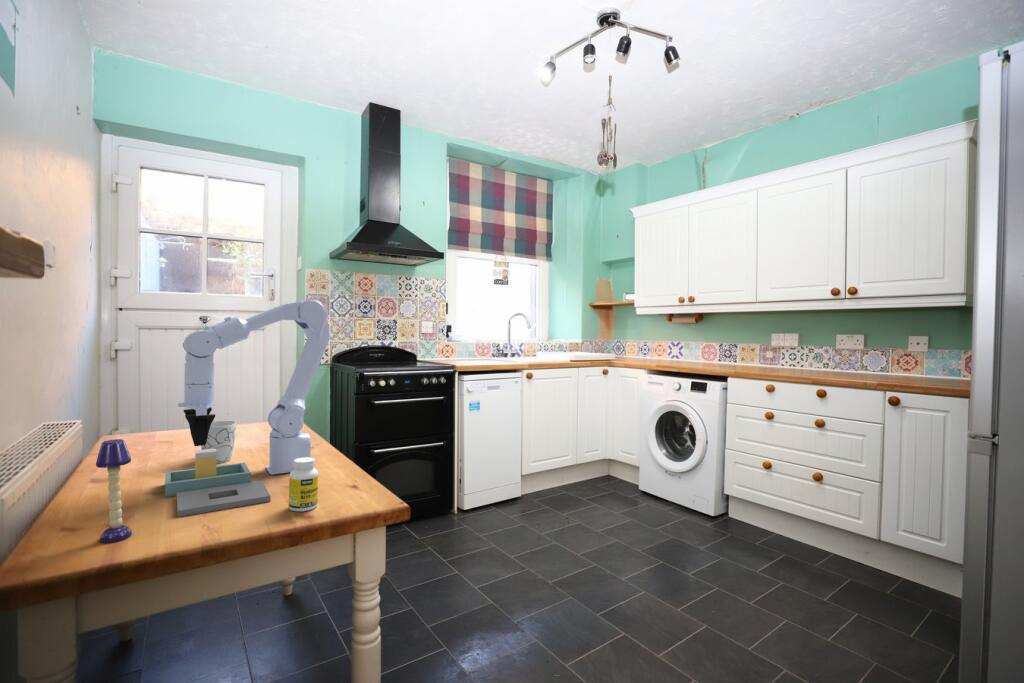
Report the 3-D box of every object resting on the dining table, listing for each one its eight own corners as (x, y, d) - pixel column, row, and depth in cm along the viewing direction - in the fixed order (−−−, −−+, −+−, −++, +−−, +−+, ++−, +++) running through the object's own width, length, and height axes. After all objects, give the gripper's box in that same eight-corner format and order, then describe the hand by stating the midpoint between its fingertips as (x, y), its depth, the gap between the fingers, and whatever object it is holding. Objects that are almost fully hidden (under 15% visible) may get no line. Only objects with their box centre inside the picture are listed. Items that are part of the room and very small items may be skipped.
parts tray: (244, 473, 120) (244, 462, 120) (250, 484, 112) (250, 472, 112) (165, 484, 111) (165, 472, 111) (164, 497, 103) (165, 484, 103)
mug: (188, 459, 132) (188, 422, 131) (221, 453, 139) (221, 418, 138) (208, 466, 125) (208, 428, 125) (241, 460, 132) (242, 423, 132)
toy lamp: (92, 545, 80) (92, 444, 80) (100, 534, 84) (100, 438, 84) (128, 540, 82) (128, 442, 82) (134, 529, 86) (135, 436, 86)
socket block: (261, 485, 112) (261, 480, 111) (270, 501, 102) (270, 495, 102) (176, 498, 102) (176, 492, 102) (177, 517, 92) (177, 510, 92)
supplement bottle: (299, 514, 95) (300, 464, 95) (283, 508, 98) (283, 460, 98) (323, 506, 100) (324, 458, 100) (307, 500, 103) (307, 454, 102)
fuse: (215, 478, 114) (215, 448, 113) (216, 481, 111) (216, 451, 111) (195, 481, 111) (195, 450, 111) (195, 484, 109) (195, 453, 109)
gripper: (177, 380, 115) (176, 437, 116) (179, 387, 104) (178, 450, 104) (212, 379, 120) (211, 434, 120) (218, 386, 108) (217, 446, 108)
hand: (198, 442), depth 112 cm, fingers open, 7 cm apart
